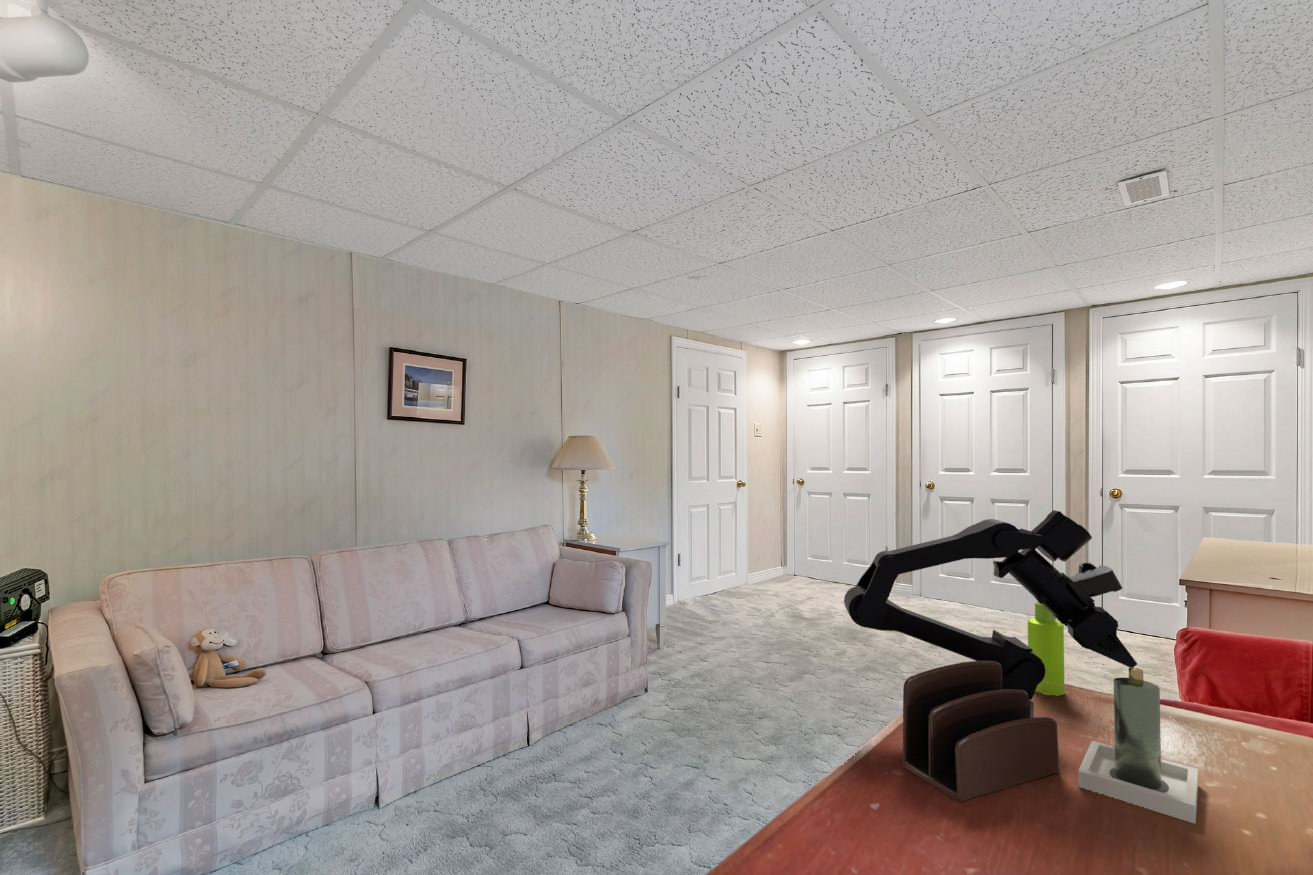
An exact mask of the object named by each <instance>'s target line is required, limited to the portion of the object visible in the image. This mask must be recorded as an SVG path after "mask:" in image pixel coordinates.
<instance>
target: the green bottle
mask: <svg viewBox="0 0 1313 875" xmlns="http://www.w3.org/2000/svg"><path fill="white" fill-rule="evenodd" d="M1160 690H1161V689H1160V687H1159V686H1158V685H1156V684H1154V683H1152V682H1149V681H1147V680H1144V670H1143V669H1141V668H1139V667H1133V668H1130V667H1128V677H1116V678H1114V679H1113V715H1114V716H1113V722H1114V723H1113V726H1114V730H1113V731H1114V732H1113V733H1114V736H1113V737H1114V747H1115V775H1116V776H1117V777H1118V778H1119V779H1120V780H1122V781H1125V782H1128V783H1131V784H1135V785H1138V786H1142V787H1145V788H1148V789H1159V788H1161V759H1162V751H1161V750H1162V747H1161V745H1162V744H1161V742H1162V740H1161V739H1162V738H1161V736H1162V735H1161V697H1160V696H1161V695H1160V694H1161V693H1160Z"/></svg>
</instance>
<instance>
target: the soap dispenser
mask: <svg viewBox="0 0 1313 875" xmlns="http://www.w3.org/2000/svg"><path fill="white" fill-rule="evenodd" d="M1064 626H1065V625H1064V624H1062V623H1061V622H1060V621H1059V620H1057V618H1056V617H1055V616H1054V615H1053V614H1052V613H1051V612H1050V611H1049V610H1048V609H1047V608H1046V607H1045V606H1043V605H1042V604H1041V603H1040V602H1038V601H1035V603H1034V617H1031V618H1028V619H1027V646H1028V647H1030V648H1031V649H1032V650H1033V651H1032V652H1033V653H1034V654H1035V655H1037V656H1038V657H1039V658H1040V659H1041V660H1042V662H1043V663H1044V665H1045V671H1046V672H1045V677H1044V679H1043V680H1042V681H1045V682H1040V683H1039V684H1038V685H1037V688H1036V690H1035V691H1037V692H1040V693H1046V694H1049V695H1056V696H1055V697H1061V696H1060V695H1062V696H1063V695H1065V633H1064V632H1065V628H1064ZM1046 682H1050V683H1046ZM1052 683H1056V684H1052ZM1057 684H1061V685H1064V686H1060V685H1057ZM1037 692H1036V693H1037ZM1040 693H1039V694H1040ZM1049 695H1048V696H1049Z"/></svg>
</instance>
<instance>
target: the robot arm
mask: <svg viewBox="0 0 1313 875" xmlns="http://www.w3.org/2000/svg"><path fill="white" fill-rule="evenodd" d="M1092 539H1093V537H1092V535H1091V534H1090V533H1089V531H1088V530H1087V529H1086V528H1085V527H1084V526H1083V525H1081V524H1078V523H1077V522H1076V521H1075V520H1073V519H1071V518H1070V517H1068V516H1066V515H1065V514H1063V512H1062V511H1060V510H1052V511H1051V512H1050V513H1048V514H1047V515H1046V517H1045V518H1044V519H1043V520H1042V521H1041V522H1040V523H1039V524H1038V525H1036V526H1035V527H1034V528H1033V529H1032V530H1029V529H1025V528H1017V527H1016V526H1015V525H1013V524H1011V523H1009V522H1005V521H1001V520H999V519H994V518H987V519H984V520H981V521H979V522H977V523H974V524H972V525H969V526H968V527H965V528H964V529H963V530H961V531H960V532H958V533H955V534H952V535H950V536H945V537H941V538H938V539H933V540H929V541H924V542H921V543H915V544H912V545H908V546H906V547H900V548H896V549H892V550H882V551H879V552H878V553H877V554H876V555H875V556H874V559H873V560H872V562H871V564H870V565H869V567H868V568H867V569H866V570H865V571H864V573H863V574H862V575H861V577H860V578H859V580H858V581H857V583H856V585H855V586H853V587H850V588H849V589H848V590H847V591H846V593H845V595H844V598H843V602H844V608H845V609H846V611H847V612H848V615H849V617H850V618H851V620H852V621H853V622H854V623H855V625H857V626H860V627H862V628H867V629H872V630H876V631H884V632H885V631H886V632H898V633H901V634H903V635H906V636H909V637H912V638H914V639H917V640H920V641H923V642H925V643H927V644H931V645H933V646H935V647H939V648H941V649H944V650H945V651H948V652H951V653H954V654H957V655H960V656H962V657H965V658H968V659H970V660H972V661H995V662H998V663H1000V664H1001V667H1002V690H1004V689H1011V690H1024V691H1026V692H1027V694H1028V718H1035V715H1034V713H1035V712H1034V711H1035V710H1034V709H1035V708H1034V706H1035V704H1034V702H1033V701H1032V699H1033V698H1034V695H1035V693H1036V692H1035V690H1036V688H1037V685H1038V684H1039V683H1040V682H1042V680H1043V679H1044V677H1045V672H1046V671H1045V665H1044V663H1043V662H1042V660H1041V659H1040V658H1039V657H1038V656H1037V655H1035V654H1034V653H1033V652H1032V651H1033V650H1032V649H1031V648H1030V647H1028V644H1026V643H1024V642H1023V641H1021V640H1020V639H1019V638H1018V637H1016V636H1007V635H1005V634H1003V633H1000V632H999V631H997V630H996V629H993V630H992V635H991V637H990V636H980V635H977V634H974V633H971V632H968V631H966V630H963V629H961V628H959V627H956V626H953V625H950V624H948V623H944V622H942V621H939V620H936V619H933V618H931V617H929V616H928V617H927V616H925V615H923V614H920V613H917V612H914V611H912V610H909V609H907V608H903V607H901V606H899V604H896V603H894V602H893V601H891V600H890V599H889V598H890V597H889V596H890V595H891V592H892V589H893V587H894V585H895V582H896V581H897V580H896V579H897V578H898V576H899V575H901V574H905V573H906V574H907V573H912V572H915V571H919V570H923V569H928V568H932V567H936V566H940V565H944V564H948V563H949V564H950V563H952V562H956V561H958V562H959V561H961V560H969V559H982V560H983V559H986V560H987V559H1001V558H1002V559H1003V558H1004V559H1003V560H1002V561H997V560H993V561H992V564H993V576H994V577H996V578H1000V579H1003V578H1004V577H1005V576H1007V575H1008V574H1009V575H1010V576H1012V577H1013V578H1014V580H1016V581H1017V582H1018V583H1019V584H1020V585H1021V586H1022V587H1023V588H1024V589H1025V590H1026V591H1027V592H1028V593H1029V594H1030V595H1031V596H1033V597H1034V599H1035V600H1037V601H1036V602H1040V603H1041V604H1042V605H1043V606H1045V607H1046V608H1047V609H1048V610H1049V611H1050V612H1051V613H1052V614H1053V615H1054V616H1055V617H1056V620H1057V621H1059V622H1061V623H1062V624H1064V626H1065V627H1066V628H1067V633H1068V634H1069V635H1070V637H1072V639H1073V640H1074V641H1075V642H1076V643H1077V644H1078V645H1080V647H1082V648H1083V649H1086V650H1090V651H1092V652H1094V653H1097V654H1099V655H1102V656H1104V657H1106V658H1108V659H1110V660H1113V661H1114V662H1117V663H1119V664H1121V665H1124V666H1125V667H1128V668H1136V666H1137V665H1138V663H1137V661H1136V660H1135V658H1134V657H1133V655H1132V654H1131V653H1130V651H1129V650H1128V649H1127V648H1126V646H1125V645H1124V644H1123V642H1122V641H1121V640H1120V638H1119V637H1118V636H1117V635H1118V634H1117V632H1118V628H1119V621H1118V620H1116V618H1114V617H1113V616H1112V614H1110V613H1109V612H1108V611H1106V610H1105V609H1104V608H1103V607H1102V606H1096V604H1095V602H1096V600H1094V599H1093V598H1094V597H1098V596H1102V595H1104V594H1108V593H1111V592H1114V593H1115V592H1118V591H1121V590H1122V589H1123V587H1122V584H1121V583H1120V580H1119V579H1118V577H1117V576H1116V574H1115V572H1114V571H1113V569H1112V568H1110V567H1109V566H1107V565H1099V566H1098V567H1096V566H1095V565H1094V564H1092V563H1091V562H1089V561H1085V562H1082V563H1080V564H1078V572H1076V573H1075V575H1072V576H1067V575H1066V574H1065V573H1064V572H1060V571H1059V570H1058V569H1057V568H1056V567H1055V566H1054V565H1053V564H1052V563H1050V562H1049V561H1051V562H1056V561H1057V560H1060V561H1061V562H1067V561H1068V560H1069V559H1070V558H1071V557H1072V556H1073V555H1075V554H1076V553H1077V552H1078V551H1080V549H1082V548H1083V547H1084V546H1085V545H1086V544H1088V542H1091V540H1092ZM1036 549H1037V550H1038V551H1039V552H1038V551H1037V550H1036ZM1041 554H1042V555H1041ZM1045 557H1046V558H1045ZM1047 559H1049V561H1048V560H1047Z"/></svg>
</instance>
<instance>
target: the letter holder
mask: <svg viewBox="0 0 1313 875" xmlns="http://www.w3.org/2000/svg"><path fill="white" fill-rule="evenodd" d="M902 687H903V688H902V689H903V690H902V691H903V692H902V696H903V697H902V725H903V728H902V748H903V749H902V767H903V768H904V769H905V770H907V771H908V772H910V773H912V774H913V775H914V776H916V777H918V778H919V779H921V780H922V781H924V782H926V783H928V784H929V785H930V786H932V787H934V788H935V789H937V790H938V791H940V792H942V793H943V794H944V795H946V796H948V797H949V798H951V799H952V800H954V801H955V802H957V803H960V802H964V801H968V800H971V799H974V798H975V799H976V798H978V797H982V796H985V795H988V794H991V793H995V792H998V791H1001V790H1005V789H1008V788H1012V787H1015V786H1018V785H1022V784H1025V783H1029V782H1032V781H1035V780H1038V779H1041V778H1045V777H1048V776H1052V775H1055V774H1058V773H1059V772H1060V760H1059V759H1060V757H1059V755H1060V754H1059V753H1060V752H1059V741H1058V740H1059V738H1058V736H1059V735H1058V723H1057V721H1056V719H1054V718H1053V717H1048V716H1040V717H1038V716H1037V717H1034V718H1028V694H1027V692H1026V691H1024V690H1011V689H1004V690H1002V667H1001V664H1000V663H998V662H995V661H975V660H972V661H964V662H963V661H962V662H958V663H952V664H948V665H943V666H938V667H936V668H933V669H928V670H925V671H922V672H919V673H917V674H914V675H911V676H909V677H908V678H907V679H906V680H905V681H904V683H903V686H902Z"/></svg>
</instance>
